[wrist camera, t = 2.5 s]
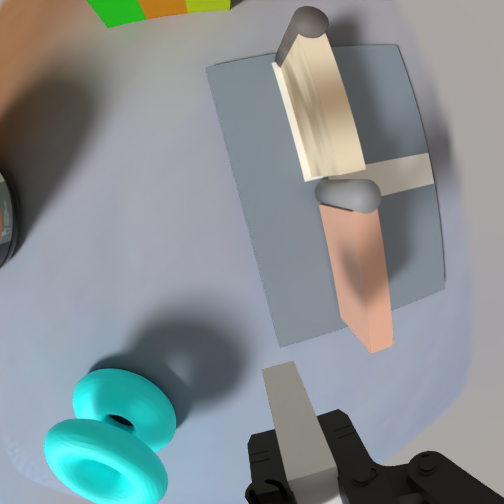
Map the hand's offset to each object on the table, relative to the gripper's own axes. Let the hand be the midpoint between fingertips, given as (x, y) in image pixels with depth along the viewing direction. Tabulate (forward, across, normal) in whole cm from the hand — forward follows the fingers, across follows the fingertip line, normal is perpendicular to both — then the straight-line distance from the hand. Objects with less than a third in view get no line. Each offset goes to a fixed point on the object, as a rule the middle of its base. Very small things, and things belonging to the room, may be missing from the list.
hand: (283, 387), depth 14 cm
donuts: (+11, -15, -7) cm, 20 cm away
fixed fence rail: (+10, +7, +14) cm, 18 cm away
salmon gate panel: (+10, +7, +3) cm, 12 cm away
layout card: (+11, +9, +7) cm, 16 cm away
